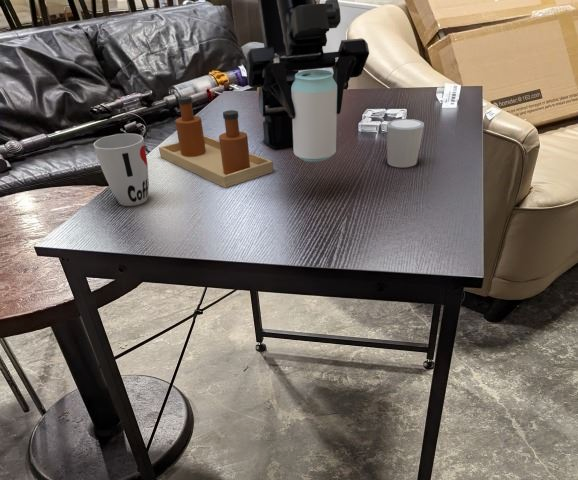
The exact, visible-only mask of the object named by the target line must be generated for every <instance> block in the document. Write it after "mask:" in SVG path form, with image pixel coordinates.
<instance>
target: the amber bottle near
mask: <svg viewBox="0 0 578 480" xmlns="http://www.w3.org/2000/svg"><path fill="white" fill-rule="evenodd" d="M222 118H223V120H224V126H225V132H223V133H221V134H219V136H218V140H219V142H220V150H221V158H222V165H223V173H224V174H225V175H228V174H231V173H234V172H237V171H240V170H243V169H247V168H250V160H249V152H250V151H249V141H248V134H247V133H246V132H245V131H240V126H239V111H238V110H234V109H233V110H232V109H229V110H226V111H223V112H222Z"/></svg>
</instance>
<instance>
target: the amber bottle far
mask: <svg viewBox="0 0 578 480" xmlns="http://www.w3.org/2000/svg"><path fill="white" fill-rule="evenodd" d="M177 102H178V105H179V109H180V116H179V117H177V118H176V119H175V120H174V122H175V128H176V133H177V139H178V142H179V145H180V151H181V155H182V156H186V157H195V156H200V155H202V154H204V153H205V152H206V149H205V142H204V135H205V134H204V130H203V123H202V117H201V116H199V115H194V110H193V109H194V108H193V98H192V96H191V95H183V96H178V98H177Z"/></svg>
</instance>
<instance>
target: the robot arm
mask: <svg viewBox="0 0 578 480" xmlns="http://www.w3.org/2000/svg"><path fill="white" fill-rule="evenodd" d="M324 2H325V3H315V0H257V6H258V11H259V12H258V13H259V20H260V26H261V27H260V28H261V34H262V40H263V41H262V42H263V47H253V48H250V49H249V50H248V51H247V53H246V70H245V71H246V79H247V85H248V87H250V88H251V89H252V88H253V89H254V88H259V89H258V99H257V102H258V111H259V113H260V115H261V116H262V117H263V118H264V120H263V122H262V128H263V129H262V130H263V139H262V142H263V143H264V144H265V145H267V146H269V147H270V148H273V150H279V149H283V148H289V147H293V123H292V119H295V110H294V104H293V101H292V96H291V87H292V84H293V83H294V81H295V75H296V74H297V73H299V72H302V71H307V70H323V69H330V68H331V69H332V73H333V79H334V80H335V82H336V84H337V115H340V114H341V112H342V105H343V97H344V90H345V84H347V83H349V81H350V79H351V78H358V77H360V76H361V75H362V74H363V72H364V68H365V65H366V63H367V61H368V58H369V56H370V49H369V44H368V42H367V41H366V39H364V38H362V37H360V38H350V39H341V40H340V44H339V47H338V51H330V52H324V48H323V47H326V46H327V43H328V38H327V33H328V32H329V31H330V29H337V28H338V26H339V25H340V24H341V21H342V18H341V8H340V4H339V0H325V1H324Z"/></svg>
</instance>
